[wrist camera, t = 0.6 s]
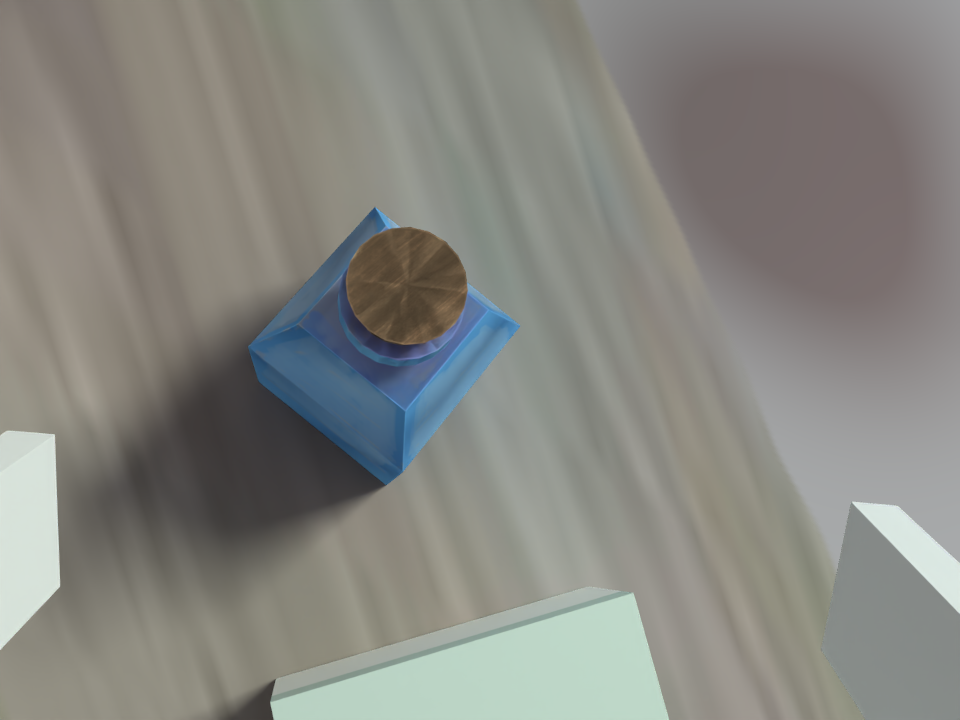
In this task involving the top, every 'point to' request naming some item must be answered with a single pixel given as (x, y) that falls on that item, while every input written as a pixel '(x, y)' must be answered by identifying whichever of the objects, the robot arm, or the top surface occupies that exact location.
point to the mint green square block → (495, 669)
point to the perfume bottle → (381, 343)
